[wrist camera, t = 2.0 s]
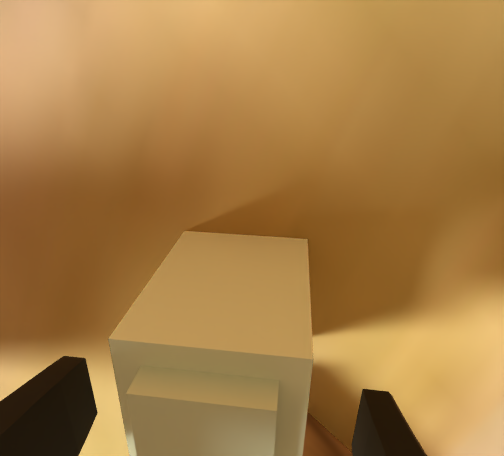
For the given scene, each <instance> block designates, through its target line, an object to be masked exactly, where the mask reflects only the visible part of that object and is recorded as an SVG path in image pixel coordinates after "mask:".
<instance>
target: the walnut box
mask: <svg viewBox="0 0 504 456" xmlns="http://www.w3.org/2000/svg"><path fill="white" fill-rule="evenodd" d="M302 456H352V452H351V451H350V450H349V449H347V448H346V447H345V446H344V445H343V444H342V443H341V442H340V441H339V440H338V439H336V438H335V437H334V436H333V435H332V434H331V433H330V432H329V431H328V430H327V429H325V428H324V427H323V426H322V425H321V424H320V423H319V422H318V421H317V420H316V419H314V418H313V417H312V416H311V415H310V414H309V413H308V412H307V420H306V429H305V438H304V447H303V455H302Z"/></svg>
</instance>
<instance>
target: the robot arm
mask: <svg viewBox="0 0 504 456" xmlns="http://www.w3.org/2000/svg"><path fill="white" fill-rule="evenodd" d="M96 415H97V409H96V404H95V400H94V395H93V391H92V386H91V382H90V377H89V373H88V368H87V364H86V359H85V358H78V357H69V356H63V357H62V358H60V359H59V360H57V361H56V362H54V363H53V364H52V365H50V366H49V367H47V368H46V369H45V370H43V371H42V372H40V373H39V374H38V375H36V376H35V377H33V378H32V379H31V380H29V381H28V382H27V383H25V384H24V385H22V386H21V387H20V388H18V389H17V390H16V391H14V392H13V393H11V394H10V395H9V396H7V397H6V398H4V399H3V400H2V401H0V456H78V455H79V453H80V451H81V449H82V447H83V445H84V442H85V440H86V438H87V436H88V434H89V431H90V429H91V427H92V424H93V422H94V420H95V417H96ZM352 456H427V455H426V454H425V452H424V450H423V449H422V447H421V445H420V444H419V442H418V440H417V439H416V437H415V435H414V434H413V432H412V430H411V429H410V427H409V425H408V423H407V422H406V420H405V418H404V416H403V415H402V413H401V411H400V409H399V408H398V406H397V404H396V402H395V400H394V398H393V397H392V395H391V394H390V393H389V392H386V391H377V390H368V389H363V390H362V395H361V400H360V405H359V410H358V415H357V420H356V425H355V431H354V436H353V441H352Z"/></svg>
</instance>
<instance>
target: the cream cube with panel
mask: <svg viewBox="0 0 504 456" xmlns="http://www.w3.org/2000/svg"><path fill="white" fill-rule="evenodd" d="M108 341H109V346H110V352H111V357H112V363H113V368H114V374H115V379H116V385H117V390H118V396H119V401H120V406H121V412H122V417H123V423H124V428H125V434H126V439H127V445H128V450H129V456H302V455H303V447H304V438H305V429H306V420H307V411H308V402H309V394H310V385H311V376H312V367H313V341H312V320H311V299H310V278H309V257H308V239H301V238H286V237H271V236H256V235H241V234H225V233H210V232H195V231H184V232H183V233H182V235H181V236H180V238H179V239H178V240H177V242H176V243H175V245H174V246H173V248H172V249H171V250H170V252H169V253H168V255H167V256H166V257H165V259H164V260H163V262H162V263H161V265H160V266H159V267H158V269H157V270H156V272H155V273H154V274H153V276H152V277H151V279H150V280H149V282H148V283H147V284H146V286H145V287H144V289H143V290H142V291H141V293H140V294H139V296H138V297H137V299H136V300H135V301H134V303H133V304H132V306H131V307H130V308H129V310H128V311H127V313H126V314H125V315H124V317H123V318H122V320H121V321H120V323H119V324H118V325H117V327H116V328H115V330H114V331H113V332H112V334H111V335H110V337H109V338H108Z"/></svg>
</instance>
